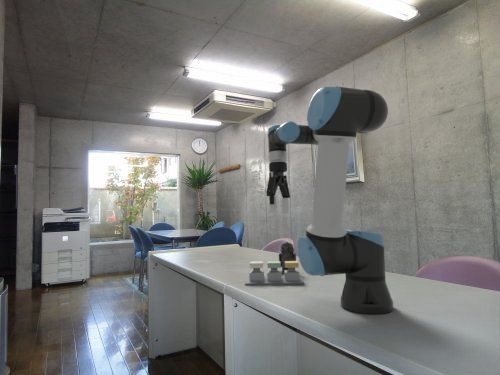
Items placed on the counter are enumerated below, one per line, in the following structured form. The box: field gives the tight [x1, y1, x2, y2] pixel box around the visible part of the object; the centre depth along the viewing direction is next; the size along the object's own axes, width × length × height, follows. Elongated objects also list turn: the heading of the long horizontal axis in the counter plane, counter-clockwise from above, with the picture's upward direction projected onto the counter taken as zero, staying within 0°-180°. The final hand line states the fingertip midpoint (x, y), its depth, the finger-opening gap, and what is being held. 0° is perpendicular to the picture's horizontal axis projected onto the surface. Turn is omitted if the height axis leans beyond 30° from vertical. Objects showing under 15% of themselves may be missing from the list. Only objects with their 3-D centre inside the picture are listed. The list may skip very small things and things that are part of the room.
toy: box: [278, 241, 297, 275], centre depth 156 cm, size 8×6×15 cm
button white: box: [249, 260, 264, 273], centre depth 139 cm, size 6×6×5 cm
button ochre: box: [285, 260, 299, 272], centre depth 138 cm, size 6×6×5 cm
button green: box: [267, 260, 282, 272], centre depth 138 cm, size 6×6×5 cm
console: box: [244, 269, 306, 286], centre depth 138 cm, size 24×16×4 cm, turn 87°
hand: (279, 212), depth 133 cm, fingers open, 13 cm apart
